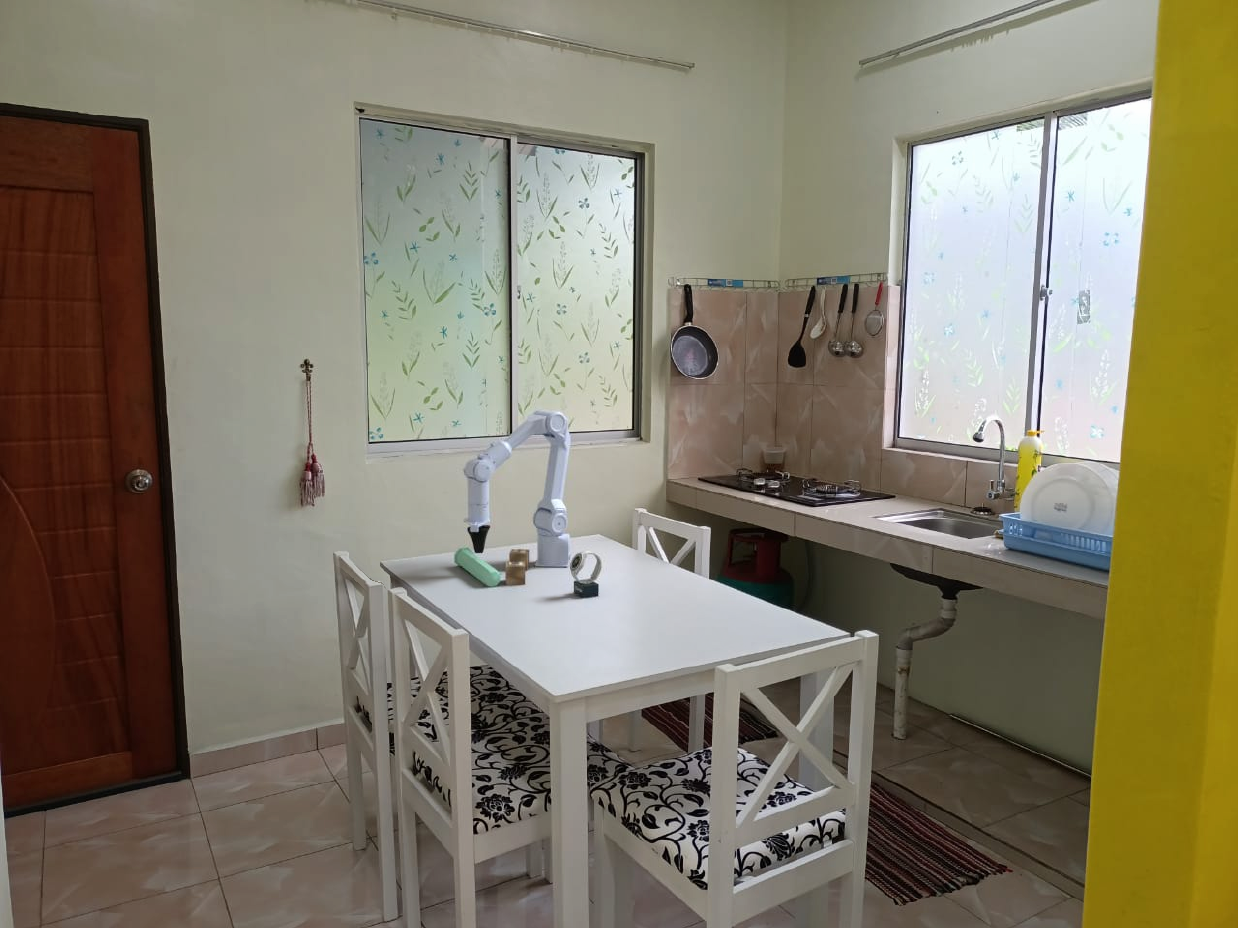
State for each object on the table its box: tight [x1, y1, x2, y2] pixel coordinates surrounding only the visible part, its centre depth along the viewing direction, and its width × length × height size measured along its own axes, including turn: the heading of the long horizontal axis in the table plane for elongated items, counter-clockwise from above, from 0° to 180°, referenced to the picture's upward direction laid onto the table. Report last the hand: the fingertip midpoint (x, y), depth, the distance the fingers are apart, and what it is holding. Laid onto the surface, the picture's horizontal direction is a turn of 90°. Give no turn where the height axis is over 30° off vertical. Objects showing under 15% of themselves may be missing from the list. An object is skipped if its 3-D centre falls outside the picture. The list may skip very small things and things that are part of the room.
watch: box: [569, 550, 603, 599], centre depth 229 cm, size 6×8×11 cm
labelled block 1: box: [508, 548, 530, 572], centre depth 254 cm, size 5×5×5 cm
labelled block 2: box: [504, 561, 526, 586], centre depth 240 cm, size 5×5×5 cm
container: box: [453, 547, 501, 588], centre depth 246 cm, size 6×6×25 cm
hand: (479, 552), depth 246 cm, fingers closed
